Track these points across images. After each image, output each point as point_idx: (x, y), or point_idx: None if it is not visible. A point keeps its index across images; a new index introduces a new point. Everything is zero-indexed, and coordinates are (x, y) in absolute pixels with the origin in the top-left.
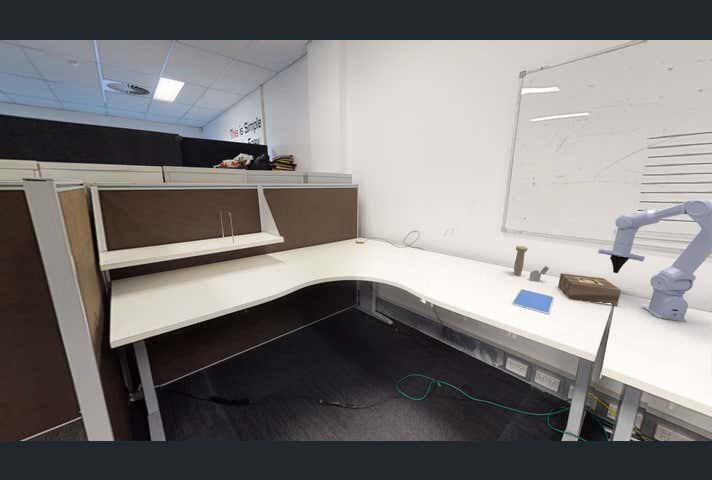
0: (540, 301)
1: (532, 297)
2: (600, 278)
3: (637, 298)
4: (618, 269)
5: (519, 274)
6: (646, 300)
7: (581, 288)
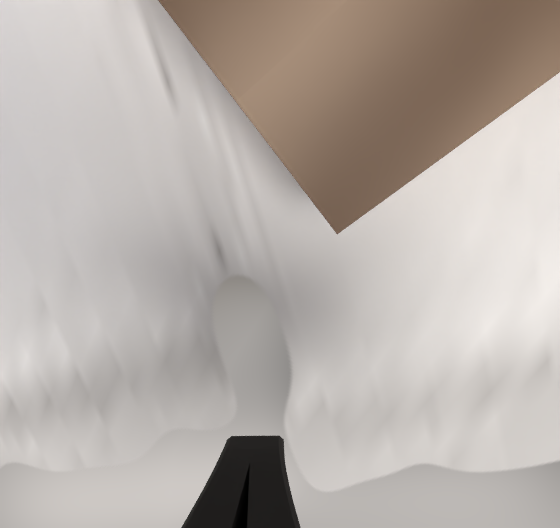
0: None
1: None
2: (365, 174)
3: (114, 327)
4: (200, 498)
5: None
6: (69, 339)
7: None
